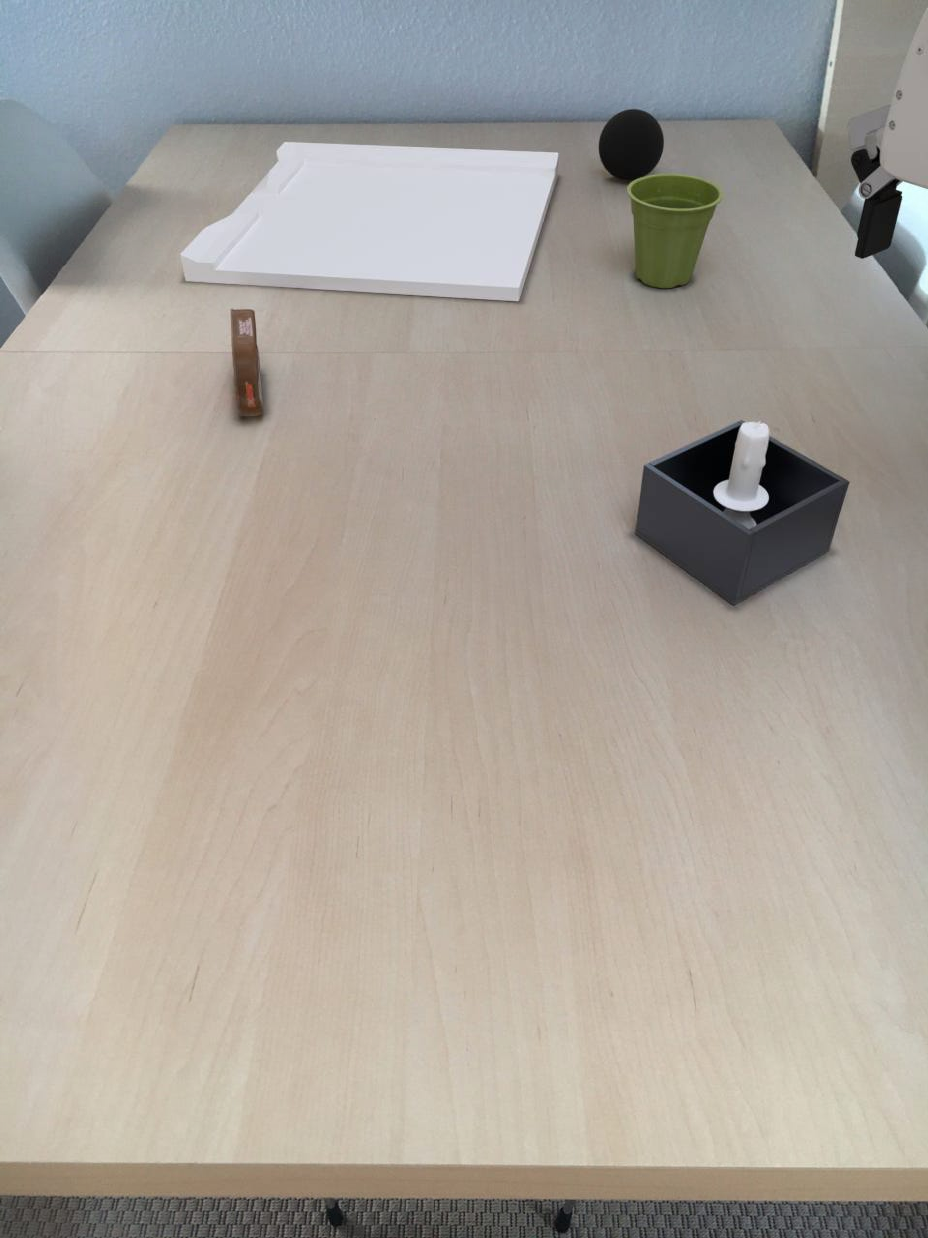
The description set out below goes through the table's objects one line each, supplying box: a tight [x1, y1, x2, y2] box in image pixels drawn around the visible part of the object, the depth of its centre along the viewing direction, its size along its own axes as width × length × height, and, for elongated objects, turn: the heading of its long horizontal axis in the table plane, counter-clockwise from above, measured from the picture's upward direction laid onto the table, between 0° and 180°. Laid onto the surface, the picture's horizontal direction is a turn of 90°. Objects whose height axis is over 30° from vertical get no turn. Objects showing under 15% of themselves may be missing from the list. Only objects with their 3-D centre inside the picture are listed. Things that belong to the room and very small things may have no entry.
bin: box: [634, 419, 850, 606], centre depth 87 cm, size 12×12×8 cm
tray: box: [179, 141, 559, 302], centre depth 144 cm, size 45×45×4 cm
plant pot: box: [626, 173, 724, 289], centre depth 126 cm, size 12×12×11 cm
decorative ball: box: [598, 108, 665, 181], centre depth 154 cm, size 10×10×10 cm
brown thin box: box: [230, 308, 264, 418], centre depth 107 cm, size 15×3×8 cm, turn 10°
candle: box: [713, 420, 770, 529], centre depth 85 cm, size 5×5×12 cm
